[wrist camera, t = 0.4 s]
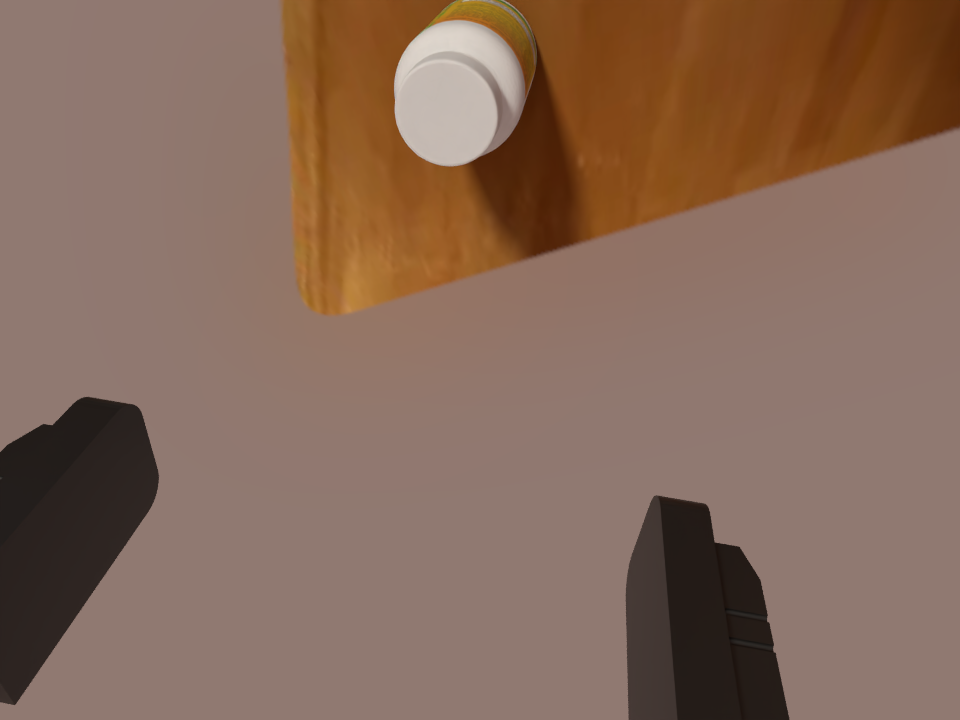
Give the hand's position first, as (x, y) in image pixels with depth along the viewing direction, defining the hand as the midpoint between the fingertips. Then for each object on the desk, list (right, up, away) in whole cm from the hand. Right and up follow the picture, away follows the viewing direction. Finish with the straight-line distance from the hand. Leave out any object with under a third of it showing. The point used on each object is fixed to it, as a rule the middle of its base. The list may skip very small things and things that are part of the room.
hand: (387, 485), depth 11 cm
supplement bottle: (+2, +17, +23) cm, 29 cm away
